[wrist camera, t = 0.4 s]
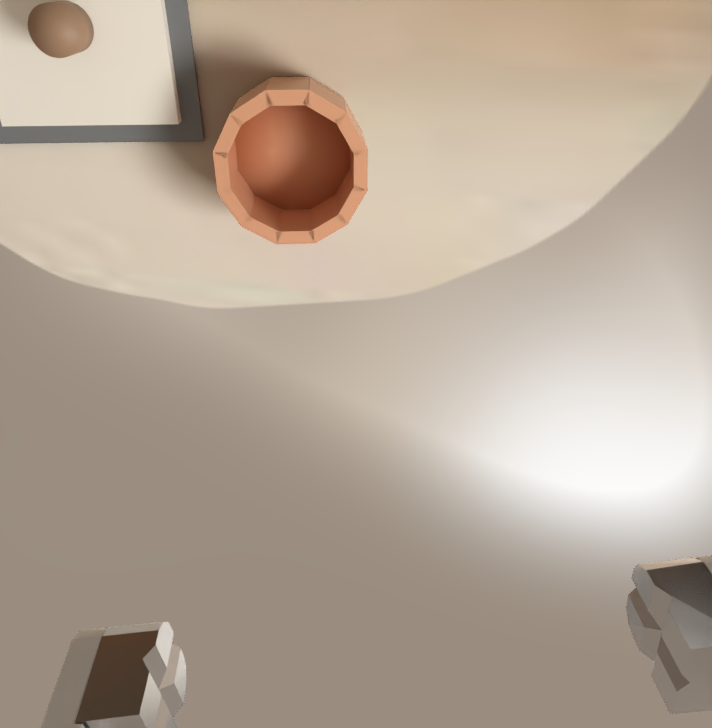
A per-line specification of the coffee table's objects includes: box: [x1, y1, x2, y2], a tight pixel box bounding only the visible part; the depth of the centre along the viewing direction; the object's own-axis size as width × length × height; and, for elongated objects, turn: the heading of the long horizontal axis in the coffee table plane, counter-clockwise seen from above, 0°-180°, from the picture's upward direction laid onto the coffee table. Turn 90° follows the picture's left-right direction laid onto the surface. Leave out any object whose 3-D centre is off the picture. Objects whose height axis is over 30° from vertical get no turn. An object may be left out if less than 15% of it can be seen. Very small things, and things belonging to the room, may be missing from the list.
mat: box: [0, 0, 204, 144], centre depth 45 cm, size 16×16×1 cm
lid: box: [0, 0, 181, 126], centre depth 43 cm, size 13×13×4 cm
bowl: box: [213, 77, 368, 244], centre depth 48 cm, size 11×11×6 cm
